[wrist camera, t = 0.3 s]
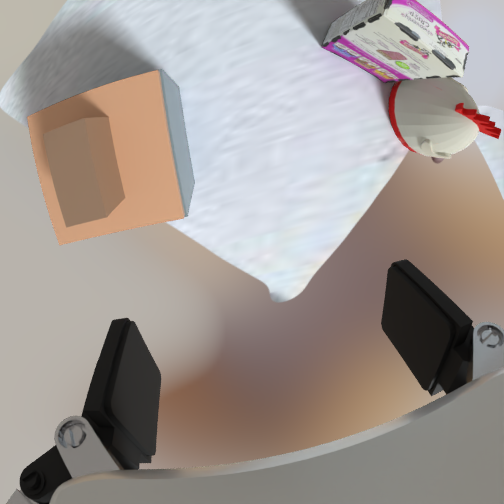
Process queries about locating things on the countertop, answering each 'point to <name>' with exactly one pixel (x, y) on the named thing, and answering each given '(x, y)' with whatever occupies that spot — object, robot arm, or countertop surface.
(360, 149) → the countertop surface
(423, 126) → the kitchen timer
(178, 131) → the box
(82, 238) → the lid
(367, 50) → the candy bar box
